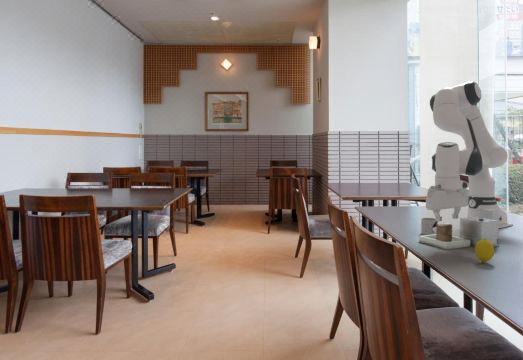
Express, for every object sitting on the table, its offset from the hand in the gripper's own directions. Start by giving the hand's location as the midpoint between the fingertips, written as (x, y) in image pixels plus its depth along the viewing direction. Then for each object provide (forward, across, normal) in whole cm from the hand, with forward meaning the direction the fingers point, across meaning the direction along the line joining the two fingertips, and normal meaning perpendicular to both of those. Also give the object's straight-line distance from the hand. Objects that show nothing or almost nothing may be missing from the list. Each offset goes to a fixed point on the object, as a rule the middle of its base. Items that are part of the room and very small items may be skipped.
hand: (447, 219), depth 164 cm
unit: (+10, +10, -6) cm, 15 cm away
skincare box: (+10, +24, -1) cm, 26 cm away
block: (+9, -1, +1) cm, 9 cm away
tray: (+10, -1, +1) cm, 10 cm away
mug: (+10, +12, +18) cm, 24 cm away
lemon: (+10, -12, -24) cm, 29 cm away
